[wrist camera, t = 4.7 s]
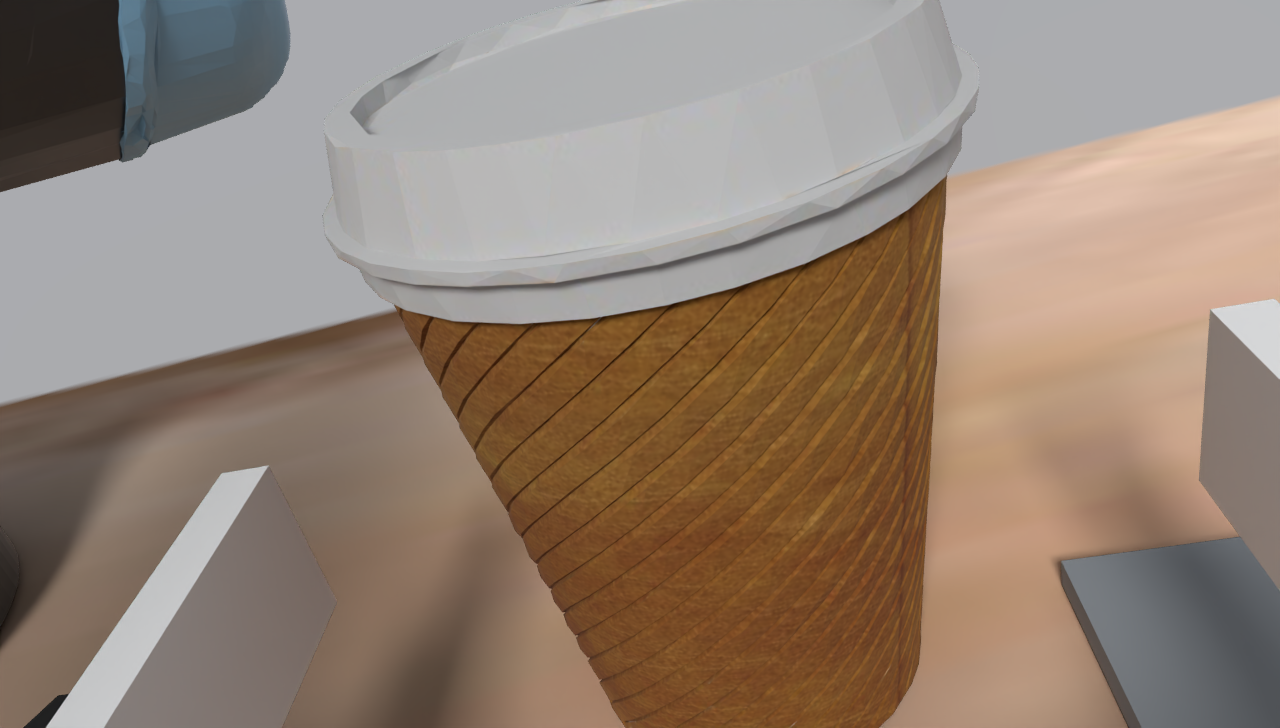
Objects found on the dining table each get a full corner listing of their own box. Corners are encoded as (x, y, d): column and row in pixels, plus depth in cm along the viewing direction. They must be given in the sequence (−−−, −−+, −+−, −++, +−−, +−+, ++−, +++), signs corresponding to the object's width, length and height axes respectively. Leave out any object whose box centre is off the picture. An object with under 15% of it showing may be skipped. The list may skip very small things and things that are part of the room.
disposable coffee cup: (477, 605, 23) (266, 90, 17) (832, 444, 25) (753, -58, 19) (632, 983, 15) (329, 247, 9) (1135, 694, 17) (1157, -42, 11)
